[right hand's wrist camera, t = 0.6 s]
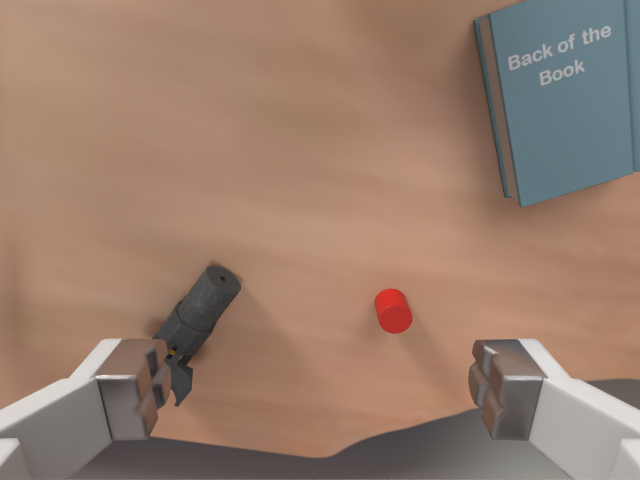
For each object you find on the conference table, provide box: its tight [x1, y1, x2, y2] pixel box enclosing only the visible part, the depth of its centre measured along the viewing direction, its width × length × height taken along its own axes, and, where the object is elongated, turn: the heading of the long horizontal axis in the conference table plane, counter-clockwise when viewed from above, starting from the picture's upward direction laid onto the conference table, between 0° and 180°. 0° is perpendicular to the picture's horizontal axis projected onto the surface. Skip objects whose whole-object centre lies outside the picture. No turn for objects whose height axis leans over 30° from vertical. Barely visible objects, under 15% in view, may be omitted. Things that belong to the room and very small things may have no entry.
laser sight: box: [153, 265, 241, 407], centre depth 58 cm, size 10×22×10 cm, turn 143°
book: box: [474, 0, 640, 207], centre depth 48 cm, size 23×16×5 cm
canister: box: [375, 289, 412, 333], centre depth 59 cm, size 5×5×5 cm
